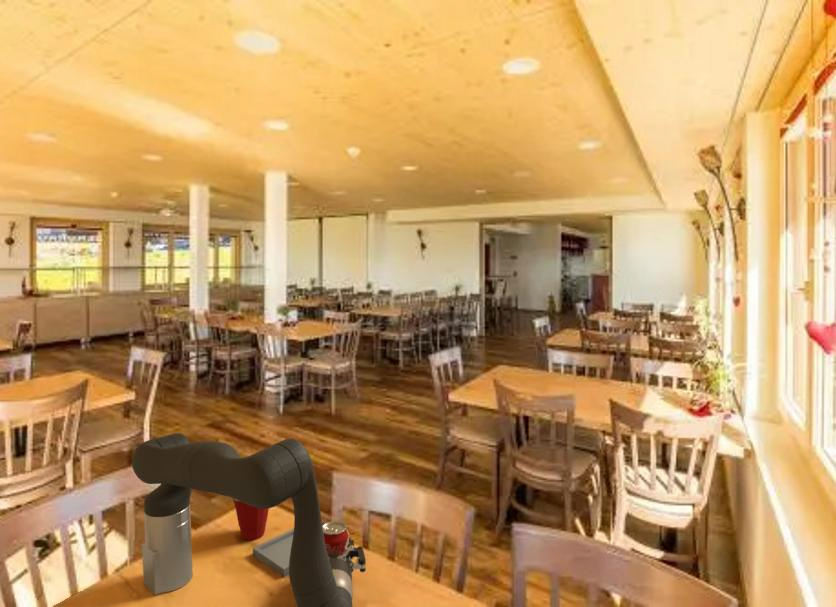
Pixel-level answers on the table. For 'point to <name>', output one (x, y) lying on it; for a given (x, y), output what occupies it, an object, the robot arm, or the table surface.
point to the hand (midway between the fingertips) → (333, 542)
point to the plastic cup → (251, 520)
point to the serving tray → (276, 552)
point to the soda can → (335, 537)
